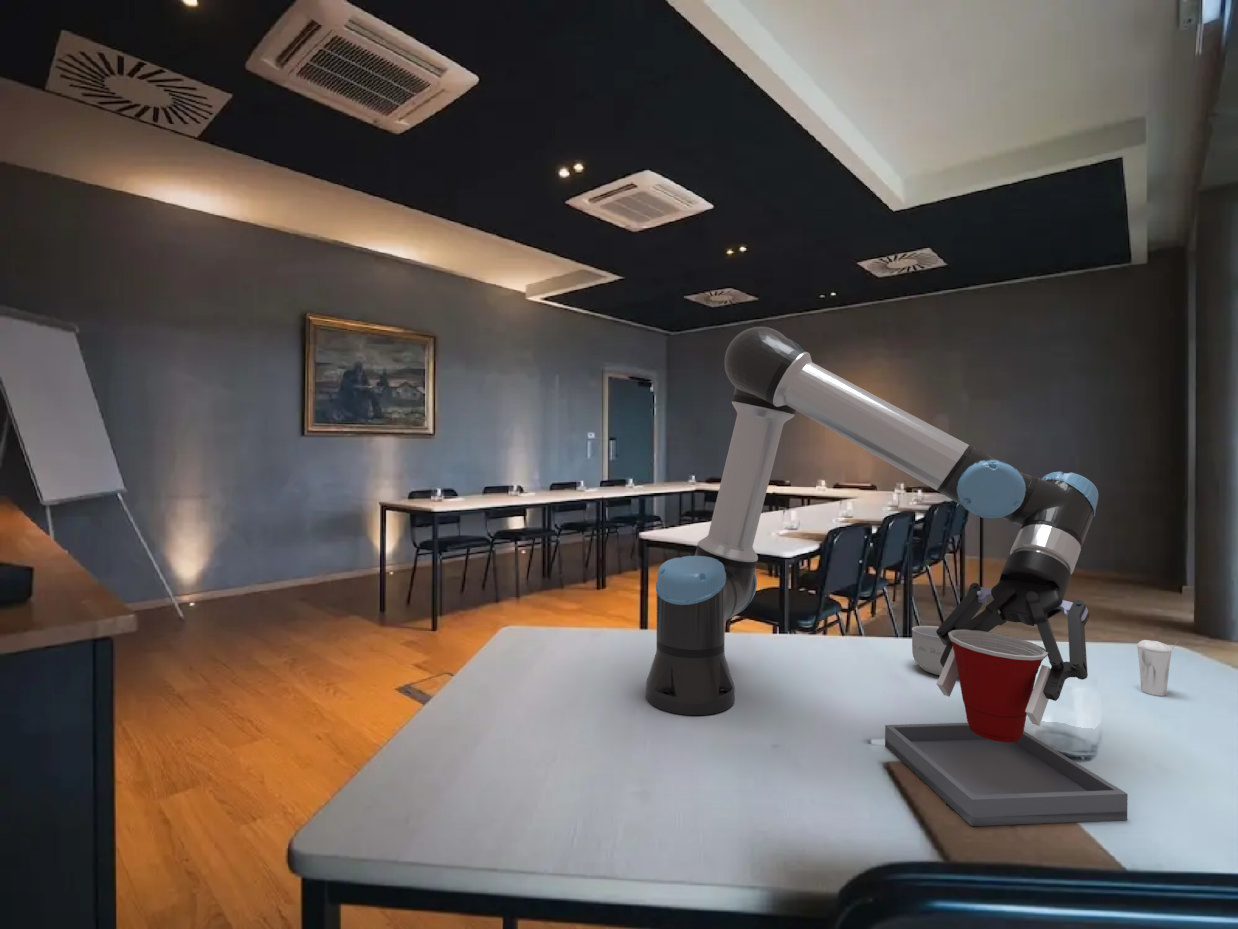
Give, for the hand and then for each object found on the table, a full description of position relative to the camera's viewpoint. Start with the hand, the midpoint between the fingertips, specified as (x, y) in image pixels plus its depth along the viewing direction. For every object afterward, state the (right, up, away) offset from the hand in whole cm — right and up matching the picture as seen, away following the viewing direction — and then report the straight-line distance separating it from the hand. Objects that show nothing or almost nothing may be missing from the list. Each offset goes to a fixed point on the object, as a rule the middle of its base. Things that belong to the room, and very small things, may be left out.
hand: (985, 703), depth 74 cm
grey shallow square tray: (+2, -11, +2) cm, 11 cm away
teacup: (+18, -11, +39) cm, 44 cm away
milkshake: (+49, -11, +30) cm, 59 cm away
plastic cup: (+3, -5, +2) cm, 5 cm away
